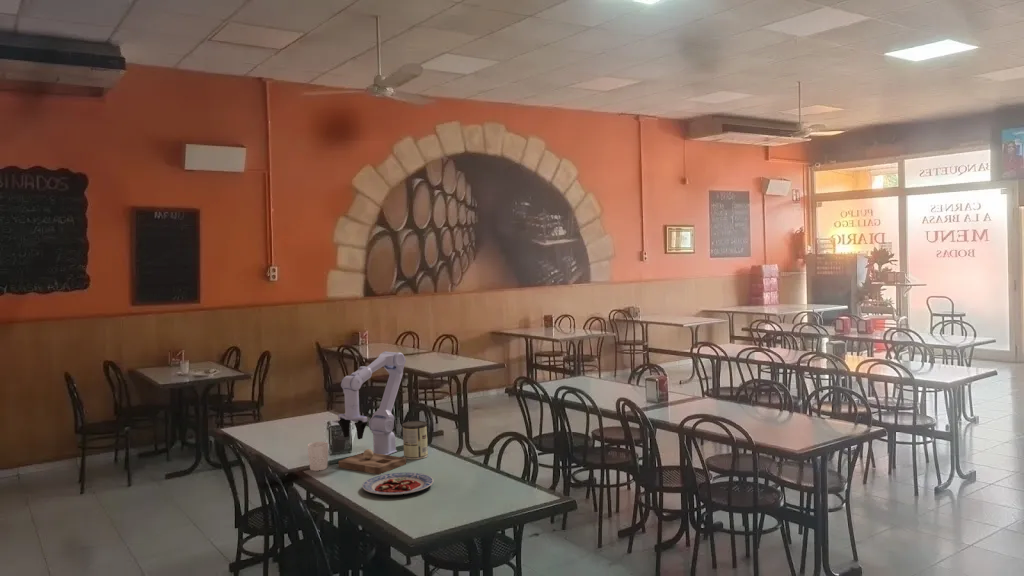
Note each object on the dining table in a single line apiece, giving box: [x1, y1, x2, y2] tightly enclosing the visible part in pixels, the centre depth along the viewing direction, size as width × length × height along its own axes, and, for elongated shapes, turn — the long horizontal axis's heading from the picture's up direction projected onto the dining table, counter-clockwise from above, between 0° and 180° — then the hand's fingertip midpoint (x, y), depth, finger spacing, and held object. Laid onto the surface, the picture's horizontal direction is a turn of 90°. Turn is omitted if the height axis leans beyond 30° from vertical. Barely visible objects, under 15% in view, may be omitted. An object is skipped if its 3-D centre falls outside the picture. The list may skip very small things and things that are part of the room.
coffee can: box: [402, 420, 429, 461], centre depth 320 cm, size 10×10×14 cm
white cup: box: [307, 441, 329, 472], centre depth 305 cm, size 8×8×10 cm
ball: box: [362, 448, 374, 459], centre depth 308 cm, size 4×4×4 cm
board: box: [338, 452, 407, 475], centre depth 308 cm, size 16×22×2 cm
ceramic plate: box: [362, 472, 435, 496], centre depth 277 cm, size 26×26×3 cm
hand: (353, 437), depth 312 cm, fingers open, 7 cm apart
